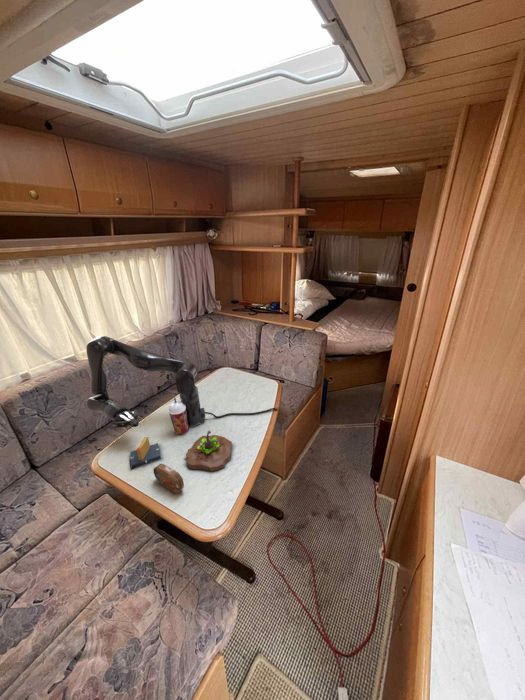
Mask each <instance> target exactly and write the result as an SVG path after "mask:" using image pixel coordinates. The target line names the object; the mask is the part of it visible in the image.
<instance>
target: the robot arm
mask: <svg viewBox="0 0 525 700" xmlns="http://www.w3.org/2000/svg"><path fill="white" fill-rule="evenodd" d="M85 347H86V348H85V350H86V356H87V362H88V368H89V374H90V393H91V394H92V395H94V396H91V397H89V398H87V399H86V401H85V406H86V408H87V409H88V410H89V411H91V412H93V413H98V414H102V415H104V416H105V417H106V418H107V419H109V420H111V421H112V426H113V428H114V429H117V428H127V427H128V426H131V427H132V428H137V427H138V426H139V421H138V418H139V411H138V409H137V408H136V409H134V411H132V410H128V409H127V408H126V407H124V406H123V405H120V404H119V403H116V402H114V401H112V400H111V399H110V396H109V394H108V388H107V387H108V379H107V378H108V377H107V374H106V372H105V370H104V360H105V357H106V356H107V355H108V354H109V355H114V356H117V357H121V358H123V359H124V360H125V361H126V362H128V363H129V364H130V365H131V366H133V367H134V368H137V369H140V370H143V371H147V372H170V373H174V383H175V386H176V390H177V393H178V394H179V398H180V402H182V403H183V404H184V405H185V406H186V414H187V422H188V428H189V427H190V428H193V427H194V428H195V427H197V426H199V425H200V424H203V419H206V415H211V416H213V417H214V418H216V419H221V418H224V417H227V416H232V415H234V416H235V415H237V416H244V415H245V416H250V415H251V416H252V415H259V414H262V413H268V412H270V411H272V410H275V411H278V409H277V408H276V407H271V408H269V409H266V410H261V411H256V412H230V413H225V414H223V415H220V416H219V415H216V414H214V413H213V412H209V411H206V410H205V407H202V406H201V402H200V401H201V400H200V395H199V394H200V393H199V388H198V386H196V384H195V378H196V377H197V374H198V367H197V366H196V365H195V364H193V363H192V362H189V361H184V360H179V359H175V358H171V357H167V356H164V355H161V354H158V353H155V352H152V351H149V350H145V349H142V348H138V347H136V346H133V345H129V344H127V343H124V342H121V341H119V340H118V339H117V340H116V339H114V338H113V337H110V336H107V335H99V336H97V337H95V338H93V339H92V340H90V341H88V342H87V344H86V346H85Z"/></svg>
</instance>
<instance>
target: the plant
mask: <svg viewBox="0 0 525 700" xmlns="http://www.w3.org/2000/svg"><path fill="white" fill-rule="evenodd" d="M210 434H212V431H211V430H208V431H207V434H206V435H201V436H200V437H198V439H197V440H195V441H194V442H193V444H192V446H191V447H190V448H189V449H187V453H186V454H185V457H186V460H185V463H186V465H187V467H188V468H190V469H191V470H205V471H208V472H215V471H219V470H222V469H224V468H225V466H226V463H228V462H229V461H231V456H232V450H233V442H232V441H231V440H229V439H228V438H226V437H225V436H222V435H218V434H212V435H210Z"/></svg>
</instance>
